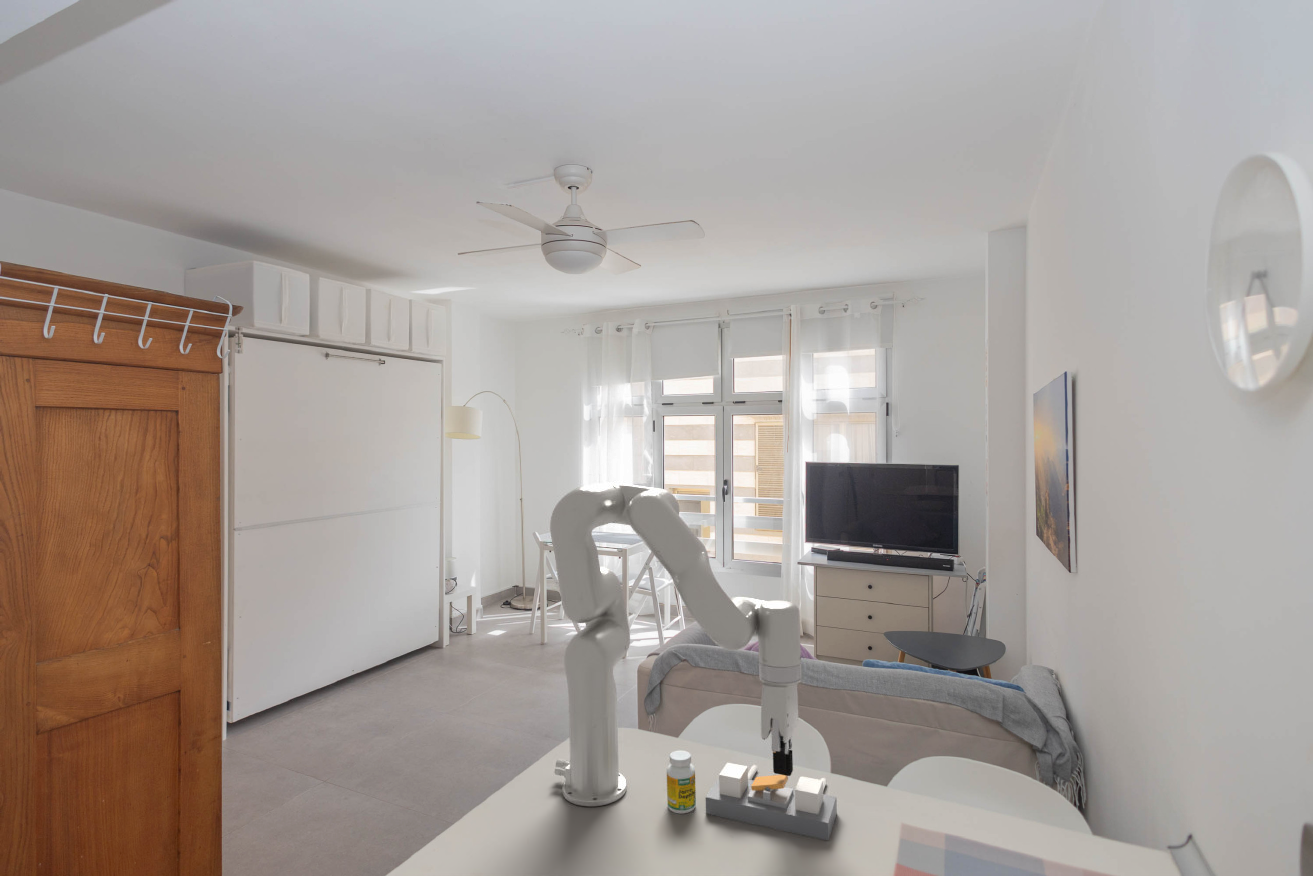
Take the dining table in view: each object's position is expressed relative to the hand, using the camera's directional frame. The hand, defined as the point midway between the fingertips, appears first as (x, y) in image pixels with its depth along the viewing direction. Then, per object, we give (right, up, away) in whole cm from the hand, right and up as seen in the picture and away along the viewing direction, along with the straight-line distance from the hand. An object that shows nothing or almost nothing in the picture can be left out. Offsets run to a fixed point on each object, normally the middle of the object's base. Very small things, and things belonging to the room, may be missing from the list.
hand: (783, 772), depth 118 cm
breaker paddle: (-2, -3, +1) cm, 4 cm away
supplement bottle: (-18, -9, +4) cm, 20 cm away
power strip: (0, -8, +5) cm, 10 cm away
